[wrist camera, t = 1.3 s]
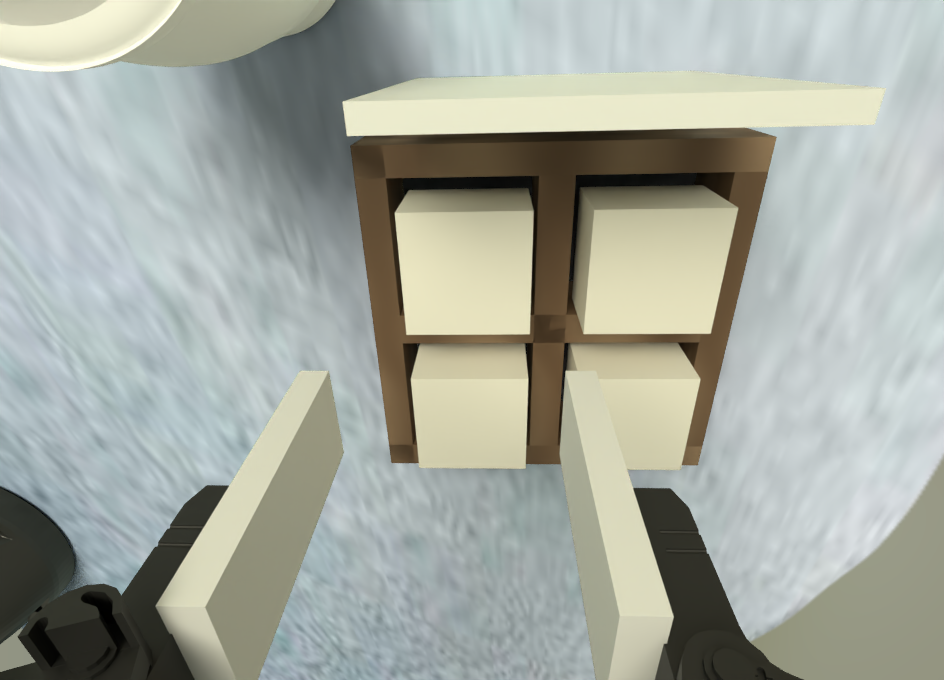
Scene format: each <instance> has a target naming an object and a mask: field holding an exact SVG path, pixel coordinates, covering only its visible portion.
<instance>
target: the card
mask: <svg viewBox="0 0 944 680" xmlns="http://www.w3.org/2000/svg"><path fill="white" fill-rule="evenodd" d="M885 90H886V88H878V87H867V86H856V85H845V84H833V83H822V82H811V81H800V80H789V79H778V78H766V77H755V76H744V75H733V74H722V73H710V72H699V71H664V72H626V73H589V74H551V75H514V76H477V77H439V78H416V79H412V80H409V81H406V82H403V83H400V84H397V85H393V86H390V87H387V88H384V89H381V90H378V91H375V92H371V93H368V94H365V95H362V96H359V97H356V98H353V99H349V100H346V101H343V110H344V117H345V125H346V133H347V136H374V135H421V134H467V133H513V132H559V131H605V130H651V129H697V128H743V127H789V126H835V125H874V124H875V121H876V118H877V115H878V112H879V109H880V106H881V103H882V99H883V96H884V93H885Z"/></svg>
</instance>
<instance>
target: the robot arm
mask: <svg viewBox="0 0 944 680" xmlns="http://www.w3.org/2000/svg"><path fill="white" fill-rule="evenodd" d="M343 453H344V451H343V445H342V440H341V434H340V429H339V424H338V418H337V413H336V407H335V402H334V397H333V391H332V386H331V380H330V375H329V371H300V372H299V373H298V375H297V377H296V378H295V380H294V381H293V383H292V385H291V386H290V388H289V390H288V391H287V393H286V394H285V396H284V398H283V399H282V401H281V403H280V404H279V406H278V407H277V409H276V411H275V412H274V414H273V416H272V417H271V419H270V420H269V422H268V424H267V425H266V427H265V429H264V430H263V432H262V433H261V435H260V437H259V438H258V440H257V442H256V443H255V445H254V447H253V448H252V450H251V451H250V453H249V455H248V456H247V458H246V460H245V461H244V463H243V464H242V466H241V468H240V469H239V471H238V473H237V474H236V476H235V477H234V479H233V481H232V482H231V484H230V486H215V485H207V486H206V487H204V488H203V489H202V490H201V491H200V492H198V493H197V494H196V495H195V496H194V497H192V498H191V499H190V500H189V501H187V502H186V503H185V504H184V506H183V507H182V509H181V510H180V511H179V513H178V514H177V516H176V517H175V519H174V520H173V522H172V523H171V525H170V529H167V530H166V532H165V533H164V535H163V536H162V538H161V539H160V541H159V542H158V547H155V548H154V549H153V551H152V552H151V554H150V555H149V556H148V558H147V559H146V561H145V562H144V564H143V565H142V567H141V568H140V570H139V571H138V572H137V574H136V575H135V577H134V578H133V580H132V581H131V583H130V584H129V586H128V587H127V588H126V590H125V591H124V593H123V594H122V596H121V594H120V593H119V591H118V590H117V588H114V587H112V586H109V585H106V584H96V585H86V586H83V587H80V588H78V589H75V590H72V591H69V592H67V593H65V594H63V595H62V596H60V597H58V596H59V595H60V594H61V592H62V591H63V590H64V589H65V587H66V586H67V585H68V584H69V582H70V581H71V579H72V577H73V574H74V569H75V563H74V557H73V553H72V551H71V548H70V546H69V544H68V542H67V541H66V539H65V538H64V536H63V535H62V533H61V532H60V531H59V530H58V529H57V527H56V526H55V525H54V524H53V523H52V522H51V521H50V520H49V519H48V518H46V517H45V516H44V515H43V514H42V513H41V512H39V511H38V510H37V509H35V508H34V507H33V506H31V505H30V504H28V503H27V502H25V501H24V500H22V499H20V498H19V497H17V496H15V495H13V494H11V493H9V492H7V491H5V490H3V489H1V488H0V644H1V643H2V642H3V641H4V640H6V639H7V638H9V637H10V636H11V635H13V634H14V633H15V632H16V631H17V630H18V629H20V628H21V627H22V626H23V625H24V624H26V623H27V622H28V623H27V624H26V626H25V627H24V629H23V630H22V632H21V633H20V634H19V636H18V638H19V640H20V641H21V642H22V644H23V645H24V646H25V648H26V649H27V650H28V652H29V653H30V655H31V656H32V657H33V659H34V660H35V661H36V662H35V663H31V664H28V665H24V666H21V667H17V668H13V669H10V670H6V671H3V672H0V680H258V678H259V675H260V672H261V670H262V667H263V665H264V662H265V659H266V657H267V654H268V651H269V649H270V646H271V643H272V641H273V638H274V636H275V633H276V630H277V628H278V625H279V622H280V620H281V617H282V614H283V612H284V609H285V606H286V604H287V601H288V599H289V596H290V593H291V591H292V588H293V585H294V583H295V580H296V577H297V575H298V572H299V570H300V567H301V564H302V562H303V559H304V556H305V554H306V551H307V548H308V546H309V543H310V540H311V538H312V535H313V533H314V530H315V527H316V525H317V522H318V519H319V517H320V514H321V511H322V509H323V506H324V504H325V501H326V498H327V496H328V493H329V490H330V488H331V485H332V482H333V480H334V477H335V474H336V472H337V469H338V467H339V464H340V461H341V459H342V456H343ZM560 460H561V466H562V472H563V479H564V485H565V491H566V497H567V504H568V510H569V516H570V522H571V528H572V535H573V541H574V547H575V553H576V559H577V566H578V572H579V578H580V584H581V591H582V597H583V603H584V609H585V615H586V622H587V628H588V634H589V640H590V646H591V653H592V659H593V665H594V671H595V678H596V680H803V679H800V678H798V677H796V676H793V675H791V674H789V673H786V672H784V671H783V670H780V669H779V668H778V667H776V666H775V665H773V664H772V663H770V662H769V660H768V659H767V658H766V656H765V655H764V654H763V653H762V652H761V651H760V650H758V649H757V648H756V647H755V646H754V645H752V644H751V643H750V642H749V641H748V640H747V639H746V637H745V635H744V633H743V632H742V630H741V628H740V626H739V624H738V622H737V619H736V617H735V615H734V612H733V610H732V608H731V605H730V603H729V601H728V598H727V596H726V594H725V591H724V589H723V587H722V584H721V582H720V580H719V577H718V575H717V573H716V570H715V568H714V566H713V563H712V561H711V558H710V556H709V554H707V552H706V547H705V544H704V542H703V540H702V537H701V535H699V533H698V528H697V526H696V523H695V521H694V519H693V516H692V514H691V512H690V509H689V507H688V506H687V505H686V504H685V503H684V502H683V501H682V500H681V499H680V498H679V497H678V496H677V495H676V494H675V493H674V492H673V491H672V490H671V489H670V488H633V487H632V484H631V480H630V477H629V474H628V471H627V468H626V465H625V461H624V458H623V455H622V452H621V449H620V446H619V443H618V439H617V436H616V433H615V430H614V427H613V424H612V420H611V417H610V414H609V411H608V408H607V405H606V402H605V398H604V395H603V392H602V389H601V386H600V383H599V379H598V376H597V373H596V371H565V385H564V399H563V413H562V427H561V440H560ZM57 597H58V598H57ZM56 598H57V599H56Z"/></svg>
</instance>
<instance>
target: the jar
mask: <svg viewBox="0 0 944 680" xmlns="http://www.w3.org/2000/svg"><path fill="white" fill-rule="evenodd" d="M334 2H335V0H0V65H4V66H8V67H13V68H19V69H25V70H34V71H70V70H78V69H88V68H95V67H100V66H104V65H108V64H112V63H116V62H119V61H122V62H128V63H134V64H141V65H150V66H164V67H189V66H201V65H209V64H215V63H220V62H224V61H228V60H232V59H235V58H238V57H241V56H244V55H246V54H249V53H251V52H253V51H255V50H257V49H259V48H261V47H263V46H265V45H266V44H269V43H271V42H273V41H275V40H277V39H279V38H281V37H284V36H289V35H293V34H296V33H299V32H301V31H303V30H306V29H307V28H309V27H311V26H312V25H314V24H315V23H316V22H318V21H319V20H320V19H321V18H322V17H323V16H324V15H325V14H326V13H327V12H328V10H329V9H330V8H331V7H332V5H333V4H334Z"/></svg>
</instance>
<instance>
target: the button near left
mask: <svg viewBox="0 0 944 680" xmlns="http://www.w3.org/2000/svg"><path fill="white" fill-rule="evenodd" d="M533 217H534V210H533V206H532V202H531V198H530V194H529V190H528V188H507V189H447V190H409V191H408V192H407V194H406V196H405V197H404V199H403V200H402V202H401V204H400V205H399V207H398V208H397V210H396V212H395V222H396V232H397V242H398V253H399V263H400V273H401V283H402V294H403V304H404V314H405V325H406V335H503V334H530V312H531V280H532V249H533Z"/></svg>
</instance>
